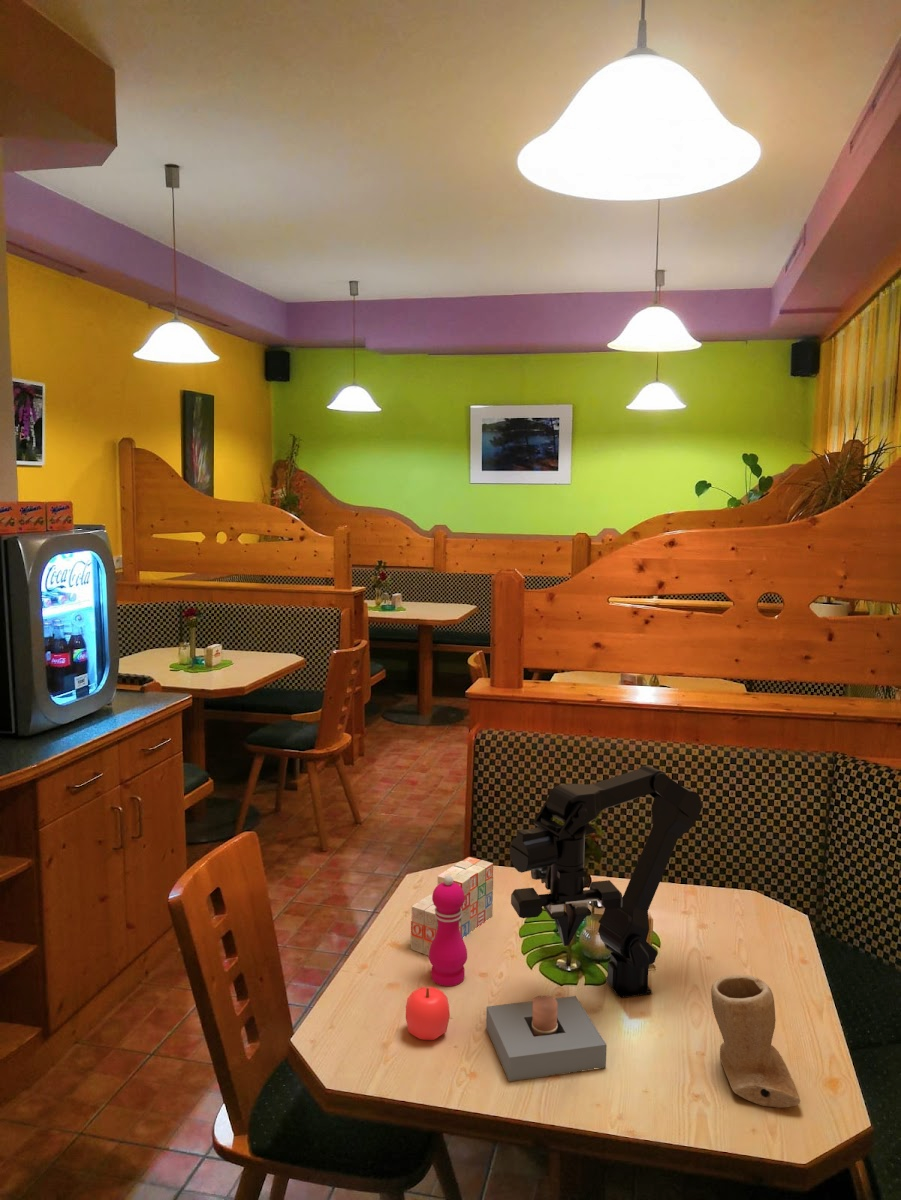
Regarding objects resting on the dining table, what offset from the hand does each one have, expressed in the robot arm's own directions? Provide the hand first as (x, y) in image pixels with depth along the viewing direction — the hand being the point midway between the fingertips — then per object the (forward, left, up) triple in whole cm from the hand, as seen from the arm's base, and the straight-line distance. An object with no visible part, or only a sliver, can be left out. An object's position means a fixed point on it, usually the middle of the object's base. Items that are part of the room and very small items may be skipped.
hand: (565, 944), depth 158 cm
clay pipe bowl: (-22, +24, -12) cm, 35 cm away
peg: (+7, +10, -12) cm, 17 cm away
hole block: (+7, +10, -12) cm, 17 cm away
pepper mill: (+18, -14, -12) cm, 26 cm away
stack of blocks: (+13, -31, -12) cm, 36 cm away
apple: (+25, +2, -12) cm, 28 cm away
